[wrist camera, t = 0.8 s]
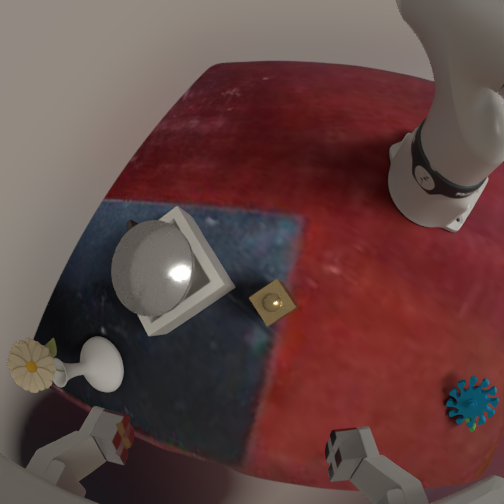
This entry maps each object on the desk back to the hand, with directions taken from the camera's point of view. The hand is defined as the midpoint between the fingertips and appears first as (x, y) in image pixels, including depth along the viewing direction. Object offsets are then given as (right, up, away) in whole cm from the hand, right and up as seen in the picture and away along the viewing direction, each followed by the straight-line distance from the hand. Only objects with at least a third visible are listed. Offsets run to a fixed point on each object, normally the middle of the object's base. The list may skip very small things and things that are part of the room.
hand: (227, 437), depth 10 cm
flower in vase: (-28, -14, +40) cm, 51 cm away
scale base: (-12, +3, +40) cm, 42 cm away
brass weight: (+5, -1, +36) cm, 36 cm away
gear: (+37, -18, +26) cm, 49 cm away
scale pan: (-13, +5, +36) cm, 39 cm away
